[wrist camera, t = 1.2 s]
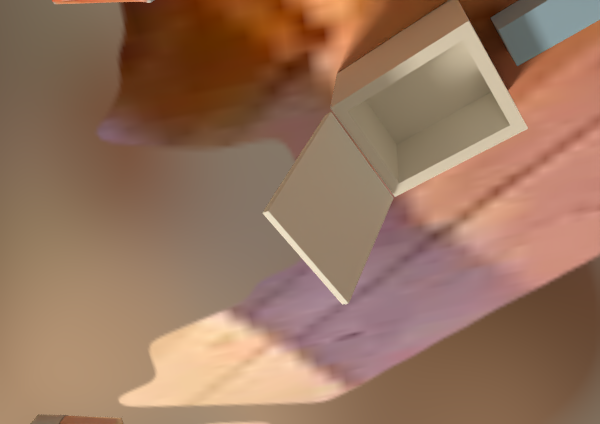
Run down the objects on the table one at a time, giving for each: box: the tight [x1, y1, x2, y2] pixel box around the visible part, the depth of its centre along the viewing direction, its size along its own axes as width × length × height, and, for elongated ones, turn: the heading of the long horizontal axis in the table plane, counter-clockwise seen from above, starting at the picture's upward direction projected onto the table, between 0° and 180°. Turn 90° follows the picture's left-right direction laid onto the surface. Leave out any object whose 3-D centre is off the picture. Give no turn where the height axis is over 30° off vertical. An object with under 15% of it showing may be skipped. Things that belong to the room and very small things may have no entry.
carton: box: [330, 0, 528, 197], centre depth 46 cm, size 12×10×8 cm
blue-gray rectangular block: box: [491, 0, 600, 66], centre depth 42 cm, size 10×4×4 cm, turn 126°
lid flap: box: [263, 112, 393, 304], centre depth 41 cm, size 12×10×1 cm
